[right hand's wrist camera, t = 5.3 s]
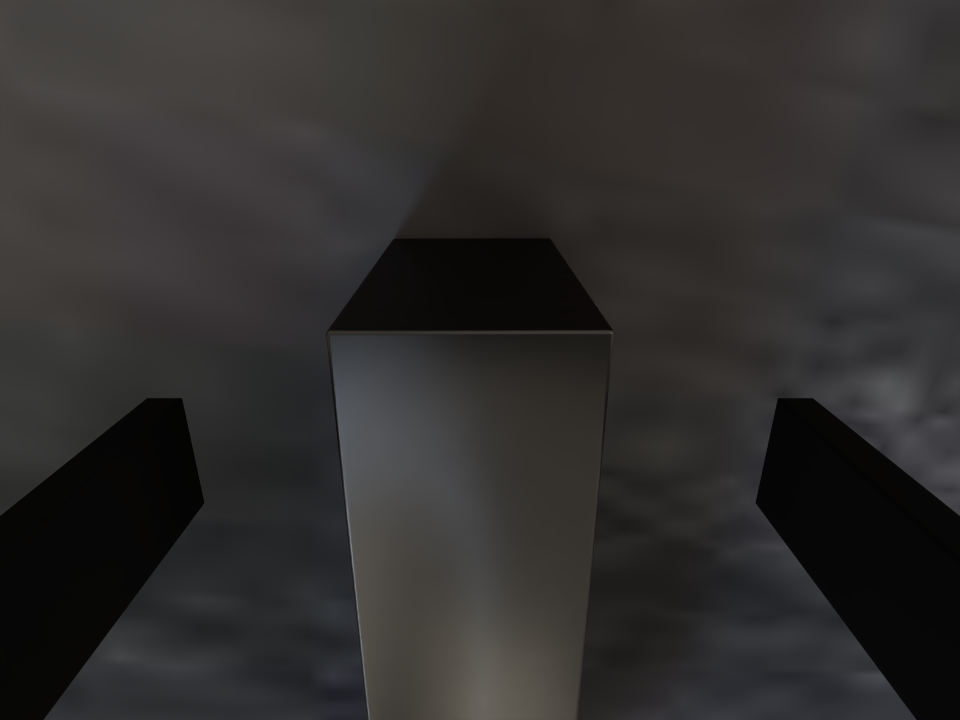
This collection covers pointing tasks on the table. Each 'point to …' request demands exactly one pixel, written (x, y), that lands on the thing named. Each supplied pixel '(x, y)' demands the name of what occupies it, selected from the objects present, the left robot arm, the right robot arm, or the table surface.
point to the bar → (471, 476)
